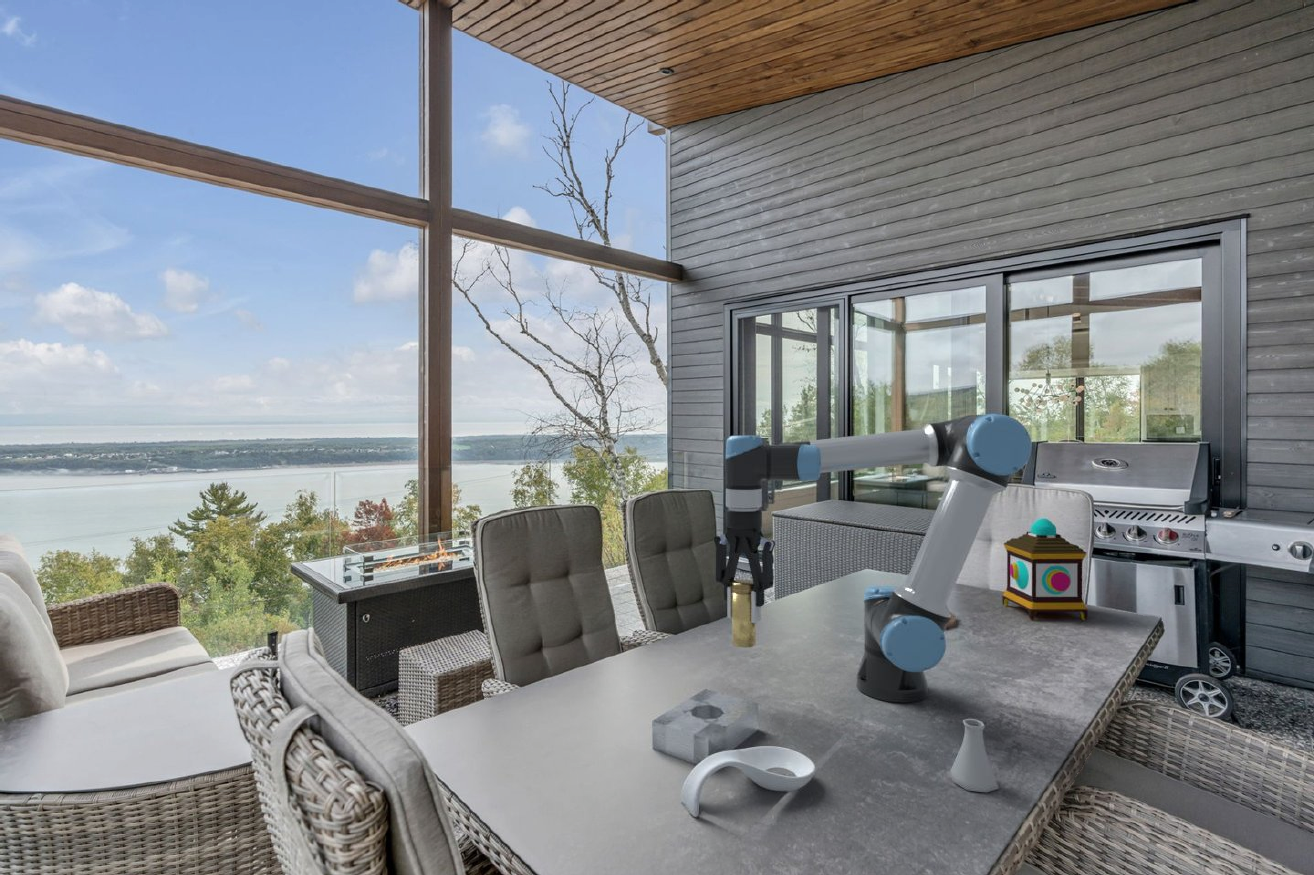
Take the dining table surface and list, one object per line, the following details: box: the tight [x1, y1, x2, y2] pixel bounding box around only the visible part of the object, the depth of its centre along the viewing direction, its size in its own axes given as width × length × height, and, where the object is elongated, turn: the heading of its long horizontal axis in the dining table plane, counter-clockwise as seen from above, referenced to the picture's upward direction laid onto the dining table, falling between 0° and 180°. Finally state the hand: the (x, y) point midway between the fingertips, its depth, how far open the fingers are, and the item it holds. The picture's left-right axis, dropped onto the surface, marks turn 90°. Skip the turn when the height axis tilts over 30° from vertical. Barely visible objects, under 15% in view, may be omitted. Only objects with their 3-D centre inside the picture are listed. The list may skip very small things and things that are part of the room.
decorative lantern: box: [1001, 517, 1089, 621], centre depth 208 cm, size 20×20×30 cm
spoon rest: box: [680, 745, 816, 818], centre depth 107 cm, size 24×12×7 cm, turn 118°
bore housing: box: [651, 688, 759, 766], centre depth 123 cm, size 12×18×6 cm, turn 143°
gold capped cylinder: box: [731, 578, 757, 648], centre depth 139 cm, size 5×5×13 cm
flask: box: [949, 718, 1000, 793], centre depth 110 cm, size 7×7×10 cm
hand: (743, 618), depth 139 cm, fingers closed on gold capped cylinder, 5 cm apart
